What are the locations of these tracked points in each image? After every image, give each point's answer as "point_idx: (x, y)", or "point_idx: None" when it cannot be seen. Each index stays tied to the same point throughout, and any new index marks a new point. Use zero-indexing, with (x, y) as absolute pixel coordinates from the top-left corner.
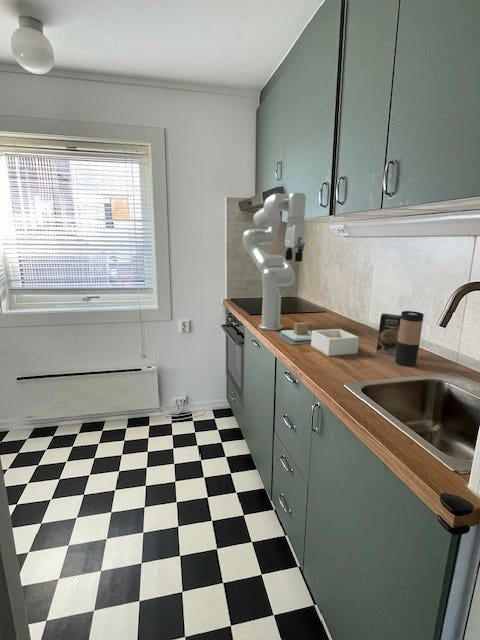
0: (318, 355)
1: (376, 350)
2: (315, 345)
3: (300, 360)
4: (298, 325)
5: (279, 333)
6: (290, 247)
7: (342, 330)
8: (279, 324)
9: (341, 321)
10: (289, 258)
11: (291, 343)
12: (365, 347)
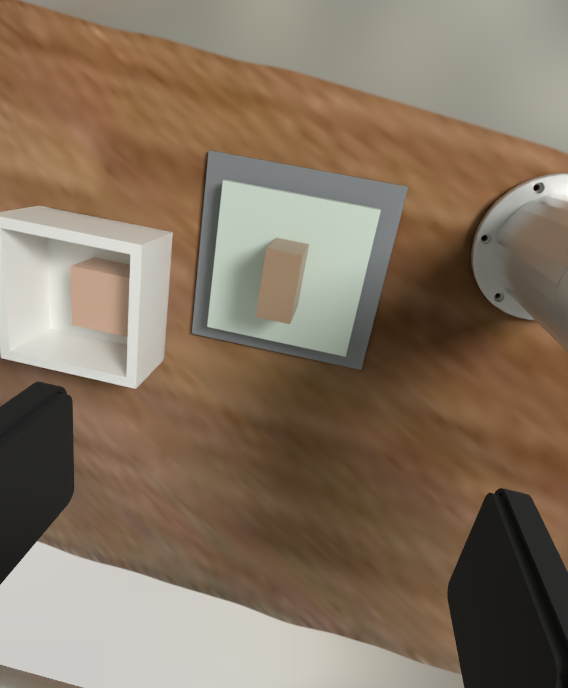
0: (54, 172)
1: None
2: (130, 227)
3: (13, 47)
4: (265, 255)
5: (396, 210)
6: (32, 676)
7: (108, 379)
8: (505, 290)
9: (439, 618)
10: (471, 570)
11: (216, 155)
12: (96, 412)
